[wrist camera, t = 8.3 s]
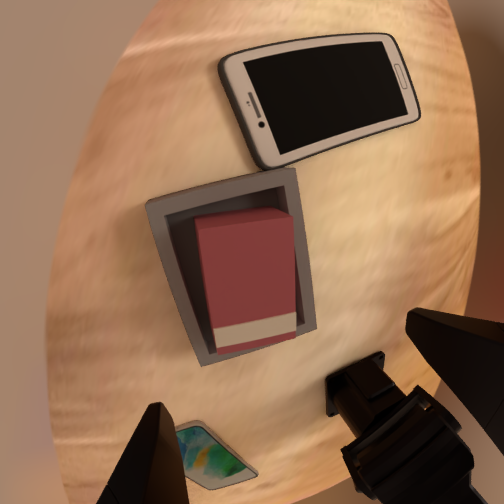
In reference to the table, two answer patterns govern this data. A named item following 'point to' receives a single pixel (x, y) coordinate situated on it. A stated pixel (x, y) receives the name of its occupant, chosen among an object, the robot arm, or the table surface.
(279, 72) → the cell phone
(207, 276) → the card box
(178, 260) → the pocket tray
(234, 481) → the smartphone
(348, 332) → the table surface
